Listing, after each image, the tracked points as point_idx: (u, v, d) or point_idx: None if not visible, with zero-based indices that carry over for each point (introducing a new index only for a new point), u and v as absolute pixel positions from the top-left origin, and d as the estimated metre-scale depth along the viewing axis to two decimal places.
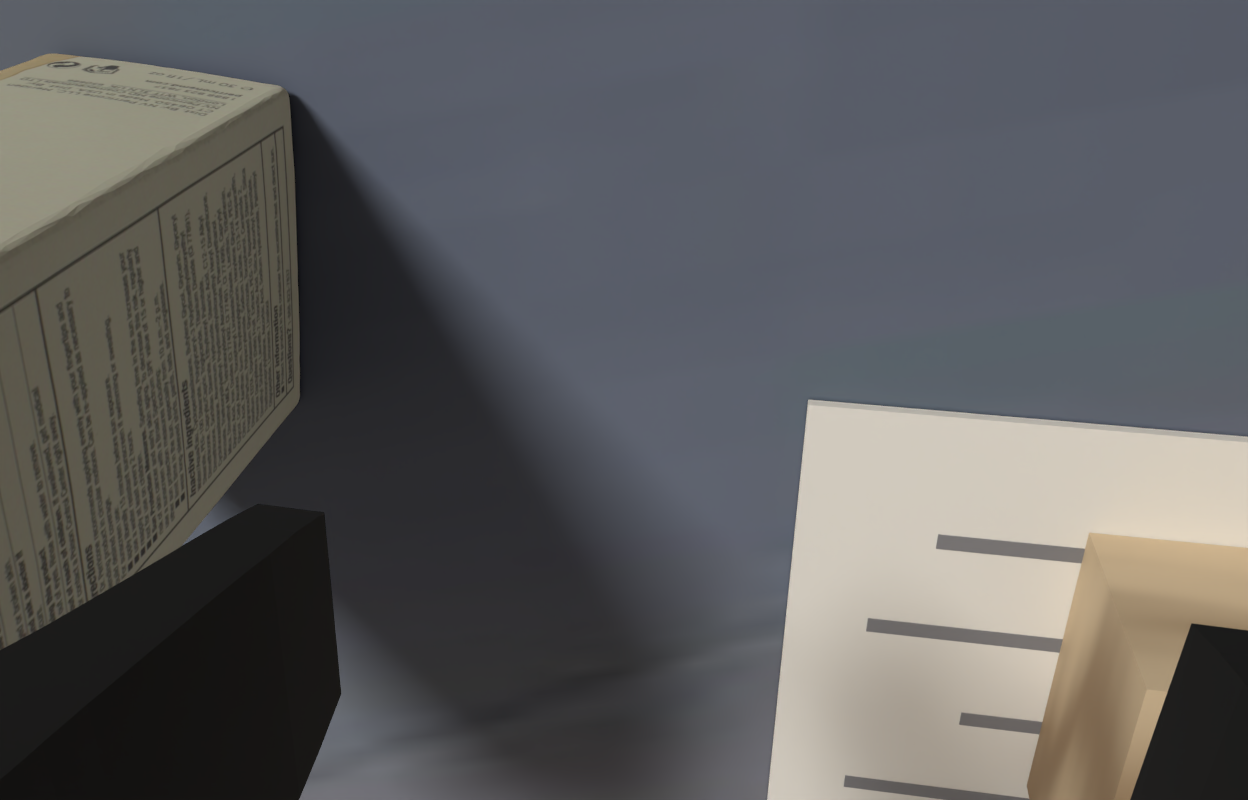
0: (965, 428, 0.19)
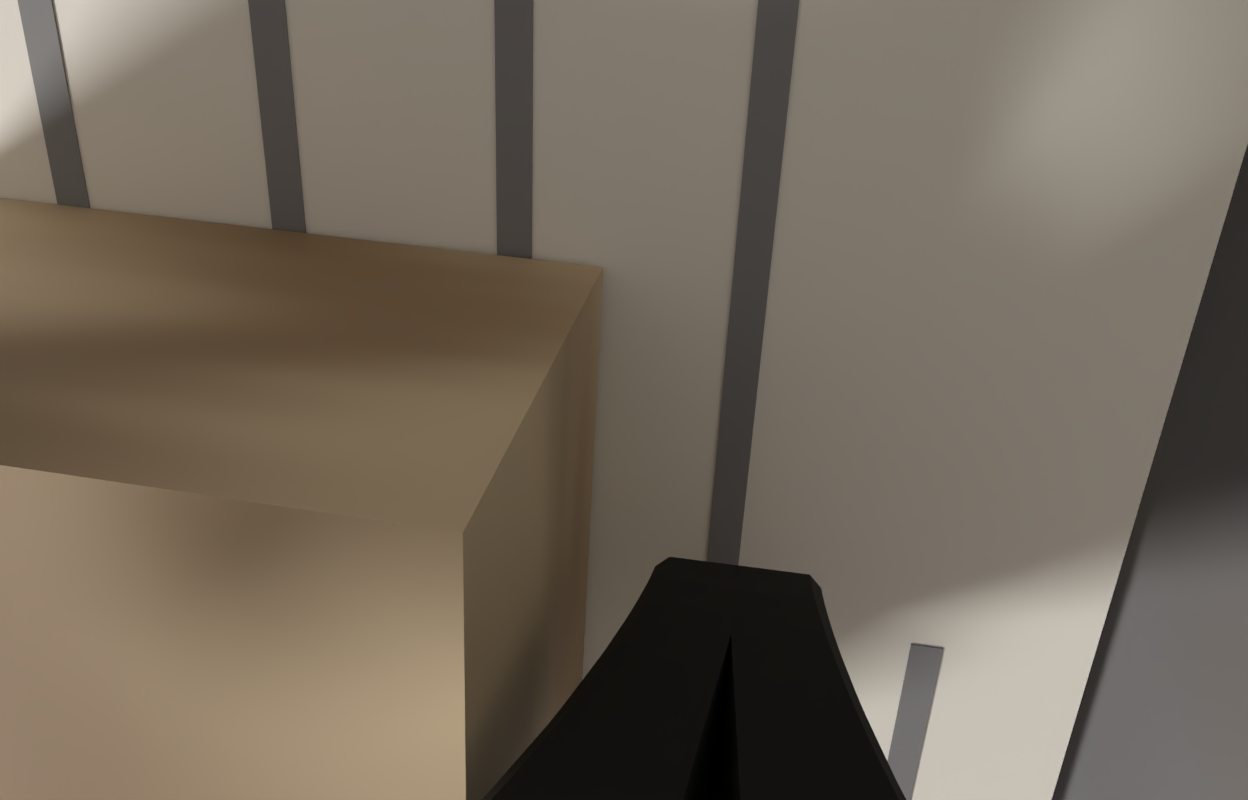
0: None
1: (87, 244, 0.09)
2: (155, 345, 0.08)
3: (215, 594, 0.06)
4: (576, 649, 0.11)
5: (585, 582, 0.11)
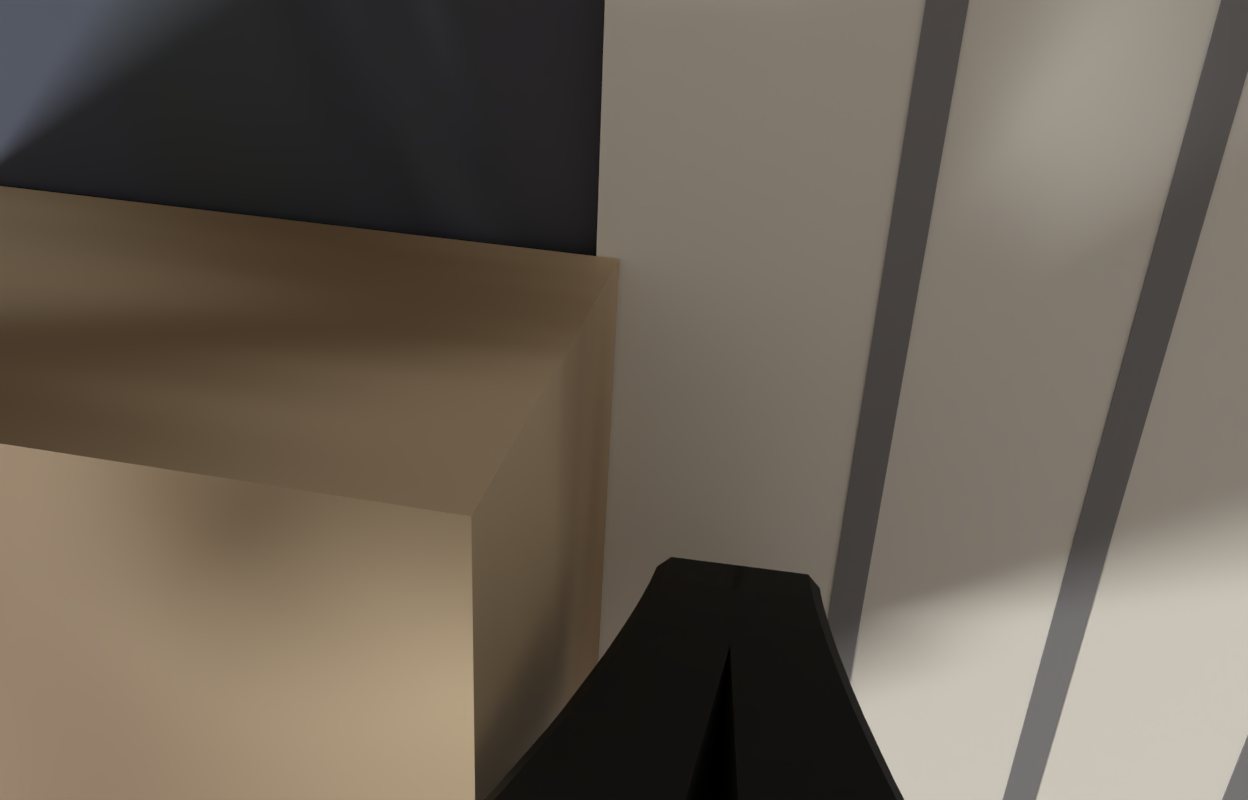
0: None
1: (109, 234, 0.09)
2: (172, 331, 0.08)
3: (229, 576, 0.06)
4: (591, 641, 0.11)
5: (601, 574, 0.11)
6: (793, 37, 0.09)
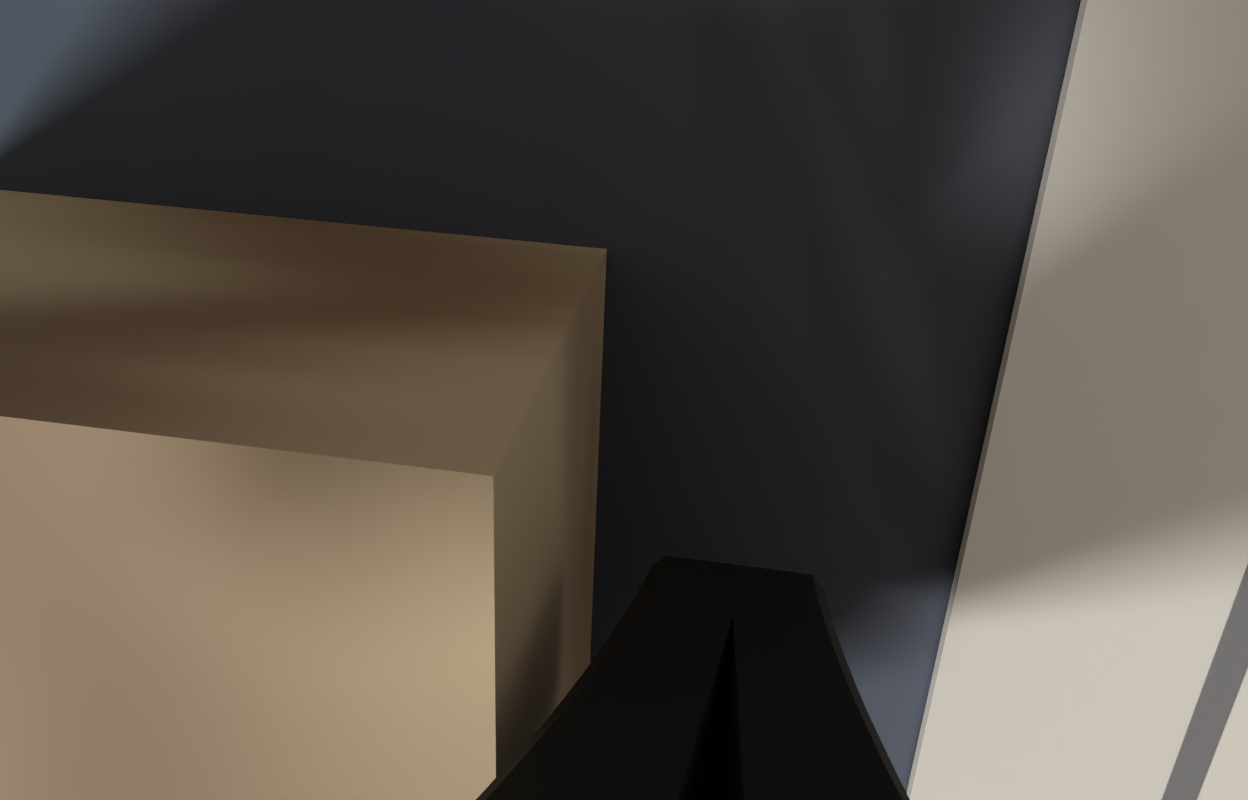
0: None
1: (114, 226, 0.10)
2: (188, 315, 0.08)
3: (258, 541, 0.07)
4: (588, 613, 0.11)
5: None
6: None
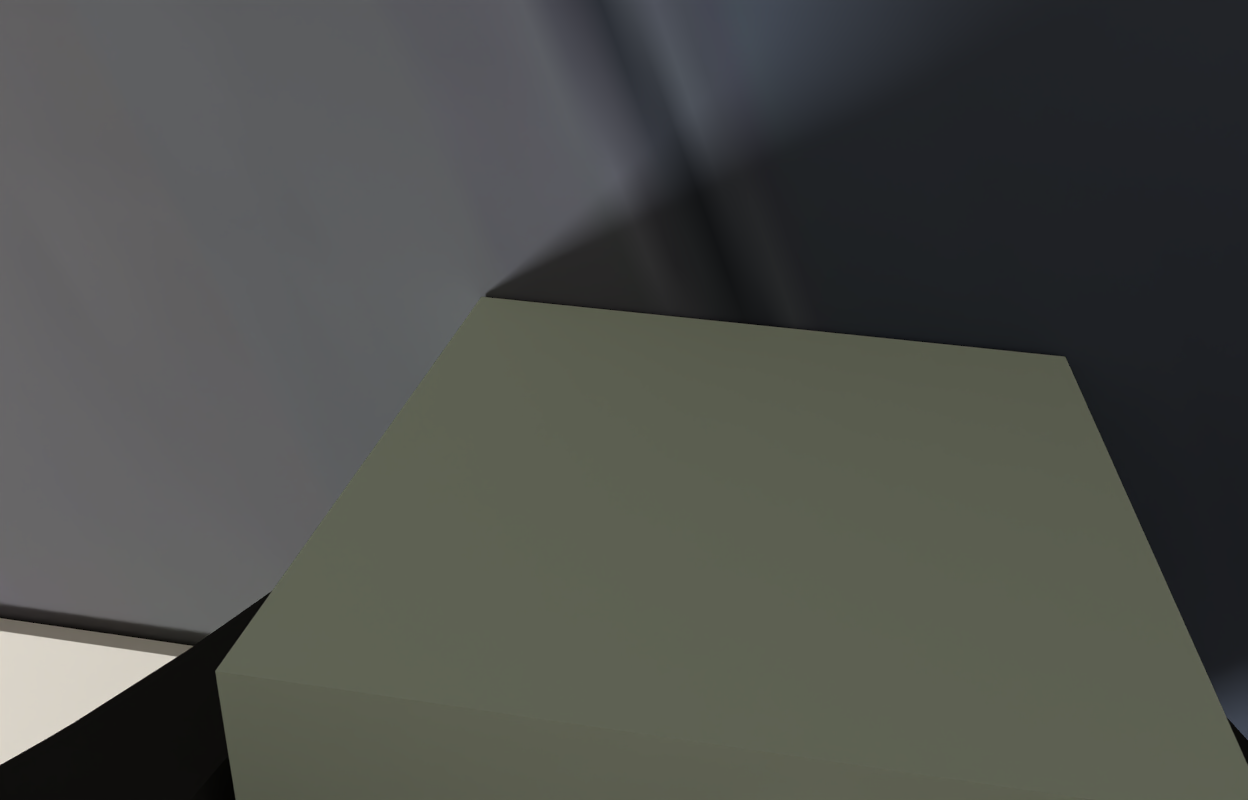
0: None
1: None
2: None
3: None
4: None
5: None
6: None
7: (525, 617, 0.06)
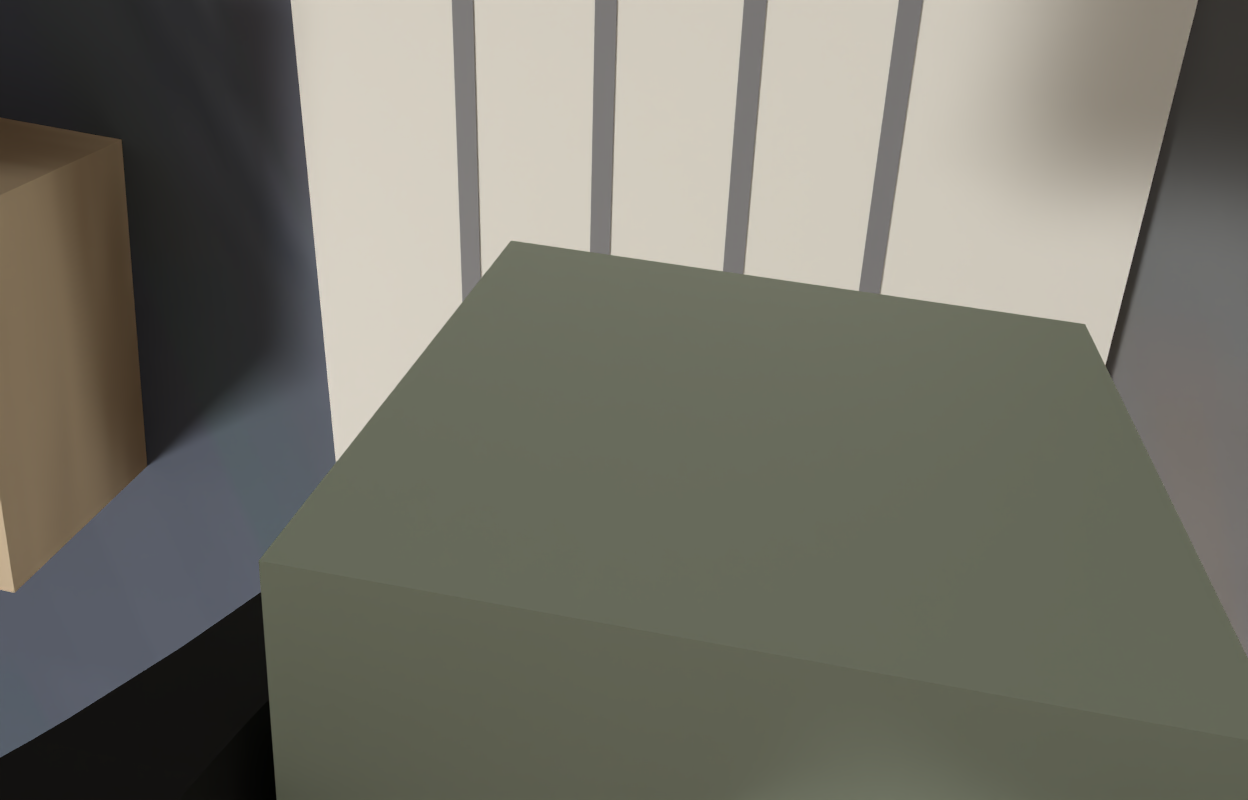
0: None
1: None
2: None
3: None
4: (131, 358, 0.19)
5: None
6: (393, 10, 0.16)
7: (562, 529, 0.06)
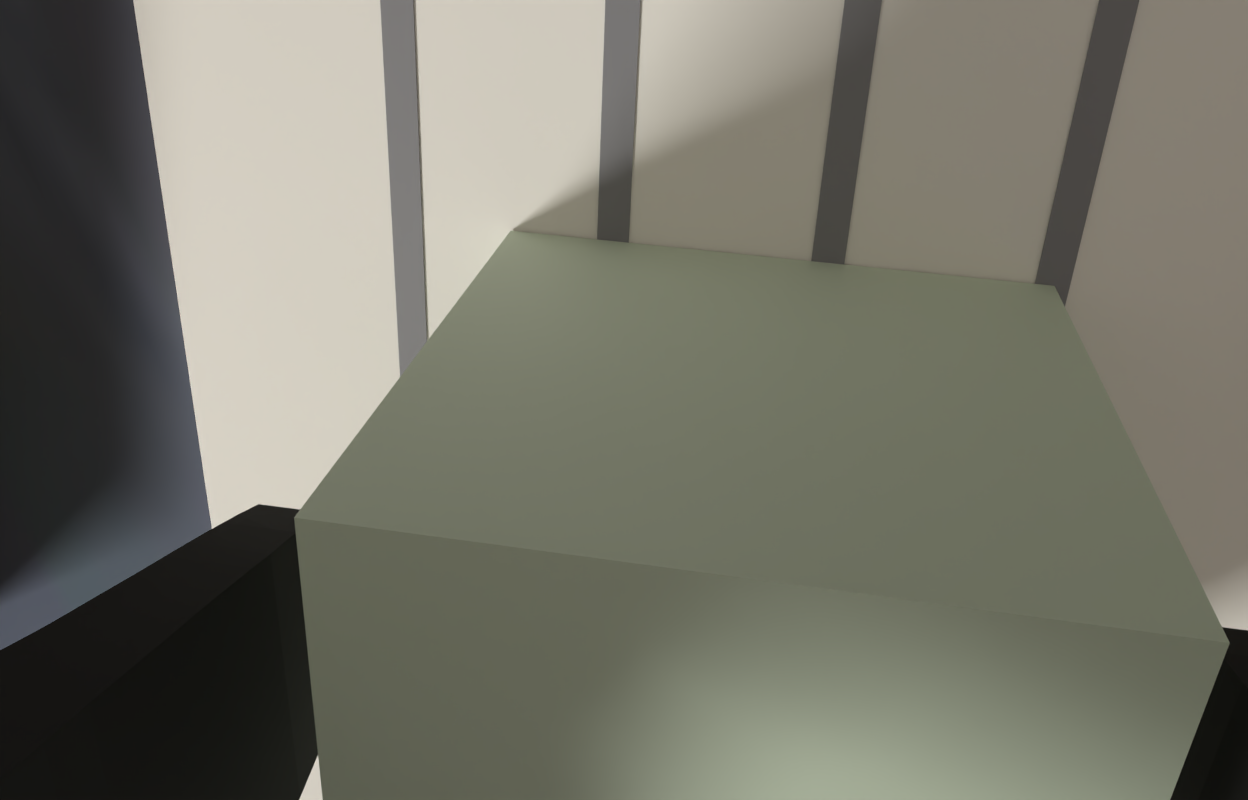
0: None
1: None
2: None
3: None
4: None
5: None
6: None
7: (565, 481, 0.07)
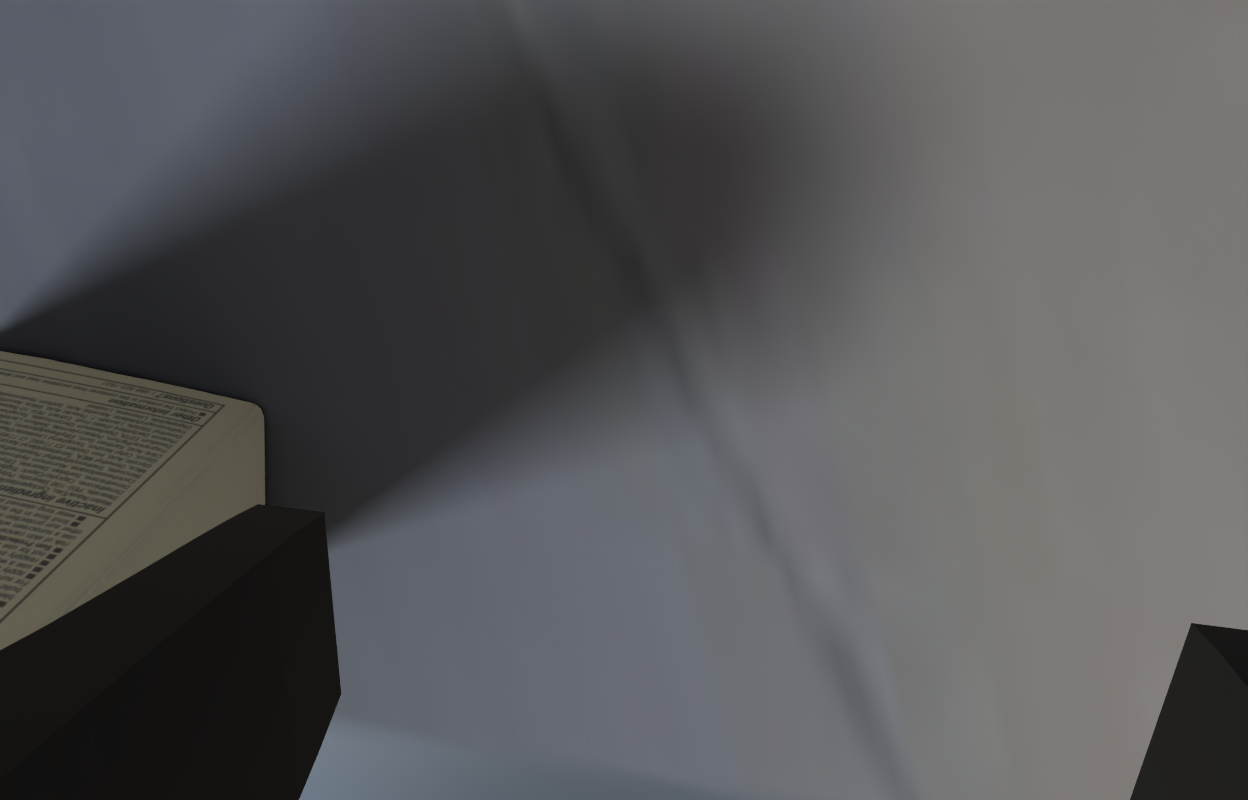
0: None
1: None
2: None
3: None
4: None
5: None
6: None
7: None
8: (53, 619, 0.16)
